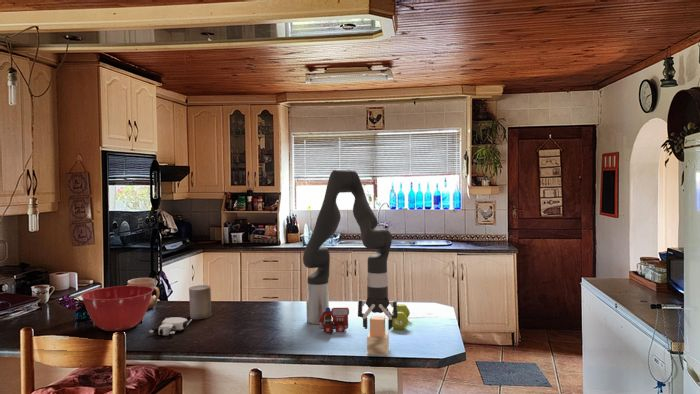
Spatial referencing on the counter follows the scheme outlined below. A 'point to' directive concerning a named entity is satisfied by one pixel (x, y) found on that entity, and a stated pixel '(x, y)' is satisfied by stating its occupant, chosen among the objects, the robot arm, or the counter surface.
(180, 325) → the robot toy
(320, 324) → the toy fire truck
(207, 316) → the pillar candle
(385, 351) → the maple base block
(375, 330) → the terracotta block
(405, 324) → the dumbbell
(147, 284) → the ceramic jug
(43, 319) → the counter surface
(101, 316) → the mixing bowl
